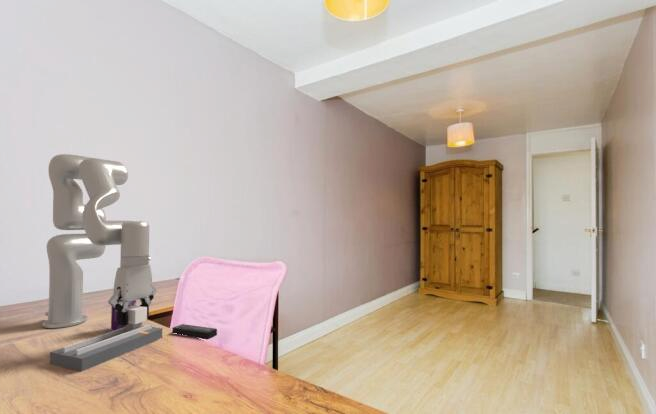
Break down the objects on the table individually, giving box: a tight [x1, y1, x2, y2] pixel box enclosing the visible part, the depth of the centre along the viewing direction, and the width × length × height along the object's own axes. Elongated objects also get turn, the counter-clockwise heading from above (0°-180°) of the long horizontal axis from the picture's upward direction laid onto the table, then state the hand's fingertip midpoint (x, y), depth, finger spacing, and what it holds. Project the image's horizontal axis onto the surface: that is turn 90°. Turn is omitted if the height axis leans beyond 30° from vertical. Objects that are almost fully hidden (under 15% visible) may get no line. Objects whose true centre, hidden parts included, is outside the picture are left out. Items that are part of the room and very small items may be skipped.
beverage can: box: [110, 300, 137, 331], centre depth 112 cm, size 7×7×12 cm
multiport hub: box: [171, 323, 218, 340], centre depth 107 cm, size 4×14×2 cm, turn 69°
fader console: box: [49, 323, 163, 372], centre depth 95 cm, size 12×24×4 cm, turn 160°
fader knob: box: [125, 305, 148, 332], centre depth 101 cm, size 6×4×7 cm, turn 70°
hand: (133, 320), depth 101 cm, fingers open, 6 cm apart
